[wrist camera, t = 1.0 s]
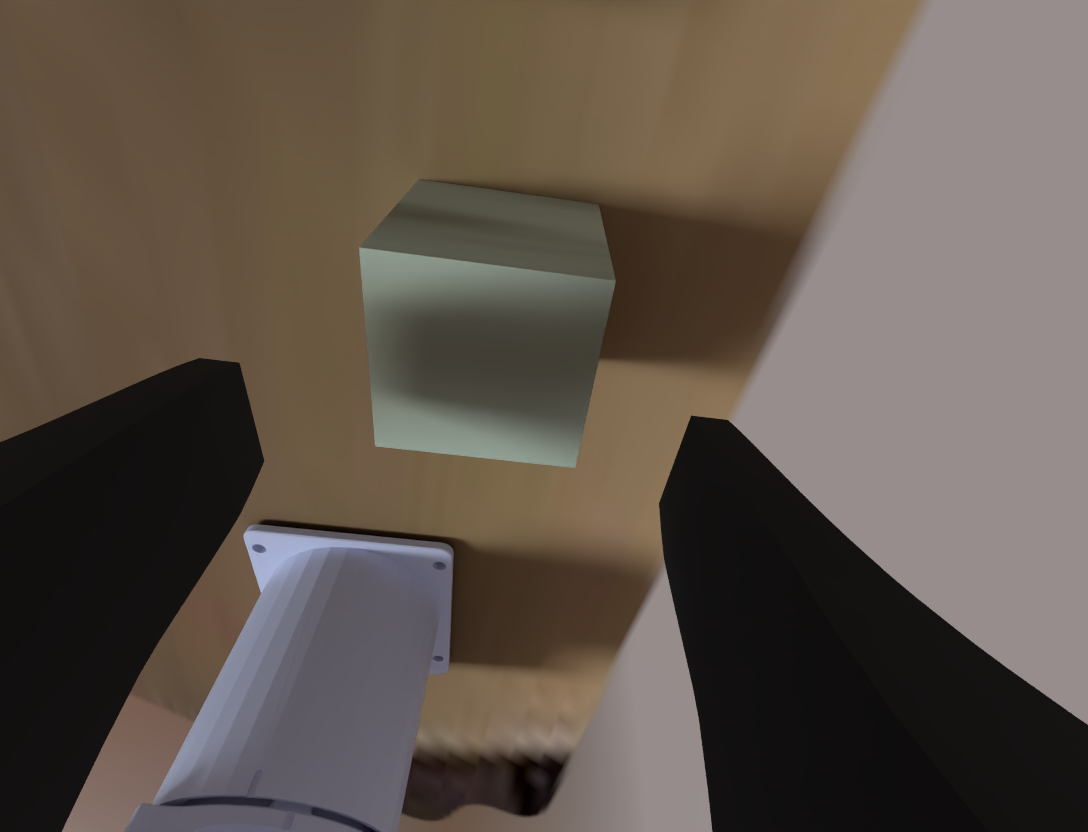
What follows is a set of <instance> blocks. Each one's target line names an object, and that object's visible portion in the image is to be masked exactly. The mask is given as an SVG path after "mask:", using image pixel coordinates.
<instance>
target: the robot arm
mask: <svg viewBox="0 0 1088 832" xmlns="http://www.w3.org/2000/svg"><path fill="white" fill-rule="evenodd" d="M263 463H264V458H263V454H262V450H261V446H260V442H259V438H258V434H257V430H256V426H255V423H254V419H253V415H252V411H251V407H250V403H249V399H248V395H247V391H246V387H245V383H244V379H243V375H242V371H241V367H240V363H236V362H228V361H219V360H211V359H202V358H198V359H196V360H193V361H190V362H187V363H184V364H181V365H179V366H176V367H174V368H171V369H169V370H166V371H164V372H161V373H159V374H157V375H154V376H152V377H150V378H147V379H145V380H143V381H140V382H138V383H136V384H134V385H131V386H129V387H127V388H125V389H122V390H120V391H118V392H116V393H113V394H111V395H109V396H107V397H104V398H102V399H100V400H98V401H95V402H93V403H91V404H89V405H86V406H84V407H82V408H80V409H77V410H75V411H73V412H71V413H68V414H66V415H64V416H61V417H59V418H57V419H55V420H52V421H50V422H48V423H46V424H43V425H41V426H39V427H36V428H34V429H32V430H29V431H27V432H24V433H22V434H19V435H17V436H15V437H12V438H10V439H7V440H5V441H2V442H0V832H62V830H63V828H64V825H65V823H66V821H67V819H68V817H69V815H70V813H71V811H72V808H73V806H74V804H75V802H76V800H77V798H78V796H79V794H80V792H81V790H82V788H83V786H84V784H85V781H86V779H87V777H88V775H89V773H90V771H91V769H92V767H93V765H94V762H95V761H96V759H97V757H98V755H99V752H100V750H101V748H102V746H103V744H104V742H105V740H106V738H107V736H108V734H109V732H110V730H111V729H112V727H113V725H114V723H115V720H116V719H117V717H118V715H119V713H120V711H121V709H122V707H123V705H124V703H125V701H126V699H127V697H128V696H129V694H130V692H131V690H132V688H133V686H134V684H135V682H136V680H137V678H138V676H139V674H140V672H141V671H142V669H143V667H144V666H145V664H146V662H147V661H148V659H149V657H150V656H151V654H152V652H153V650H154V649H155V647H156V645H157V644H158V642H159V640H160V639H161V637H162V636H163V634H164V633H165V631H166V630H167V628H168V627H169V625H170V623H171V622H172V620H173V619H174V617H175V616H176V614H177V613H178V611H179V610H180V608H181V606H182V605H183V603H184V602H185V600H186V599H187V597H188V596H189V594H190V593H191V591H192V589H193V588H194V586H195V585H196V583H197V582H198V580H199V579H200V577H201V576H202V574H203V572H204V571H205V569H206V568H207V566H208V565H209V563H210V562H211V560H212V559H213V557H214V555H215V554H216V552H217V551H218V549H219V547H220V546H221V544H222V543H223V541H224V540H225V538H226V536H227V535H228V533H229V532H230V530H231V529H232V527H233V525H234V524H235V522H236V520H237V519H238V517H239V515H240V514H241V511H242V509H243V507H244V505H245V503H246V501H247V499H248V497H249V495H250V493H251V491H252V488H253V486H254V484H255V481H256V479H257V477H258V474H259V472H260V470H261V467H262V465H263ZM659 508H660V521H661V534H662V544H663V553H664V560H665V565H666V570H667V575H668V579H669V583H670V588H671V593H672V597H673V602H674V606H675V611H676V615H677V619H678V624H679V628H680V633H681V637H682V641H683V646H684V650H685V655H686V659H687V663H688V668H689V672H690V677H691V681H692V685H693V690H694V696H695V701H696V706H697V711H698V717H699V723H700V731H701V739H702V746H703V753H704V762H705V769H706V778H707V785H708V794H709V802H710V813H711V821H712V831H713V832H1088V725H1087V724H1086V723H1084V722H1083V721H1081V720H1080V719H1078V718H1077V717H1075V716H1074V715H1073V714H1071V713H1070V712H1068V711H1067V710H1066V709H1064V708H1063V707H1061V706H1060V705H1058V704H1057V703H1056V702H1054V701H1053V700H1051V699H1050V698H1049V697H1047V696H1046V695H1044V694H1043V693H1041V692H1040V691H1039V690H1037V689H1036V688H1035V687H1033V686H1031V685H1030V684H1029V683H1027V682H1026V681H1024V680H1023V679H1022V678H1020V677H1019V676H1018V675H1016V674H1015V673H1013V672H1012V671H1011V670H1009V669H1008V668H1006V667H1005V666H1004V665H1002V664H1001V663H1000V662H998V661H997V660H995V659H994V658H993V657H992V656H990V655H989V654H987V653H986V652H985V651H984V650H982V649H981V648H979V647H978V646H977V645H975V644H974V643H973V642H971V641H970V640H969V639H968V638H966V637H965V636H964V635H963V634H961V633H960V632H959V631H957V630H956V629H955V628H954V627H952V626H951V625H950V624H949V623H947V622H946V621H945V620H944V619H942V618H941V617H940V616H939V615H937V614H936V613H935V612H933V611H932V610H931V609H930V608H929V607H927V606H926V605H925V604H924V603H922V602H921V601H920V600H918V599H917V598H916V597H915V596H914V595H912V594H911V593H910V592H909V591H908V590H906V589H905V588H904V587H903V586H902V585H901V584H899V583H898V582H897V581H896V580H895V579H893V578H892V577H891V576H890V575H889V574H888V573H886V572H885V571H884V570H883V569H882V568H881V567H880V566H879V565H878V564H876V563H875V562H874V561H873V560H872V559H871V558H870V557H868V556H867V555H866V554H865V553H864V552H863V551H862V550H861V549H860V548H858V547H857V546H856V545H855V544H854V543H853V542H852V541H851V540H850V539H849V538H847V537H846V536H845V535H844V534H843V533H842V532H841V531H840V530H839V529H838V528H837V527H836V526H835V525H834V524H833V523H832V522H830V521H829V520H828V519H827V518H826V517H825V516H824V515H823V514H822V513H821V512H820V511H819V510H818V509H817V508H816V507H815V506H814V505H813V504H812V503H811V502H810V501H809V500H808V499H807V498H806V497H805V496H804V495H803V494H802V493H800V491H799V490H798V489H797V488H796V487H795V486H794V485H793V484H792V483H791V482H790V481H789V480H788V479H787V478H786V477H785V476H784V475H783V474H782V473H781V472H780V471H779V470H778V469H777V468H776V467H775V466H774V465H773V464H772V463H771V462H770V461H769V460H768V459H767V458H766V457H765V456H764V455H763V454H762V453H761V452H760V451H759V450H758V449H757V448H756V447H755V446H754V445H753V444H752V443H751V442H750V441H749V440H748V439H747V438H746V437H745V436H744V435H743V434H742V433H741V432H740V431H739V430H738V429H737V428H736V427H735V426H734V425H733V424H732V423H730V422H729V421H728V420H723V419H714V418H706V417H697V416H691V418H690V421H689V423H688V426H687V429H686V431H685V434H684V437H683V440H682V442H681V445H680V448H679V451H678V453H677V456H676V459H675V461H674V464H673V467H672V470H671V472H670V475H669V478H668V481H667V483H666V486H665V489H664V491H663V494H662V497H661V500H660V502H659ZM244 540H245V543H246V547H247V550H248V553H249V556H250V559H251V562H252V565H253V569H254V572H255V575H256V578H257V581H258V584H259V588H260V591H261V595H260V597H259V599H258V601H257V603H256V605H255V607H254V609H253V610H252V612H251V614H250V616H249V618H248V620H247V622H246V624H245V626H244V628H243V630H242V632H241V634H240V635H239V637H238V639H237V641H236V643H235V645H234V647H233V649H232V651H231V653H230V655H229V657H228V659H227V661H226V662H225V664H224V666H223V668H222V670H221V672H220V674H219V676H218V678H217V680H216V682H215V684H214V686H213V688H212V689H211V691H210V693H209V695H208V697H207V699H206V701H205V703H204V705H203V707H202V709H201V711H200V713H199V714H198V716H197V718H196V720H195V722H194V724H193V726H192V728H191V730H190V732H189V734H188V736H187V738H186V740H185V741H184V743H183V746H182V747H181V749H180V751H179V753H178V755H177V757H176V759H175V761H174V763H173V765H172V766H171V769H170V770H169V772H168V774H167V776H166V778H165V780H164V782H163V784H162V786H161V788H160V790H159V792H158V793H157V795H156V797H155V799H154V801H153V803H152V804H146V803H141V804H140V805H139V806H138V807H137V809H136V810H135V812H134V814H133V816H132V818H131V820H130V822H129V824H128V826H127V827H126V829H125V831H124V832H397V831H398V826H399V821H400V816H401V811H402V806H403V801H404V796H405V791H406V786H407V781H408V776H409V771H410V766H411V761H412V756H413V751H414V746H415V740H416V735H417V730H418V725H419V720H420V715H421V710H422V705H423V700H424V695H425V690H426V685H427V680H428V675H429V673H430V674H444V673H446V672H447V671H448V669H449V660H450V635H451V609H452V583H453V558H454V551H453V549H452V547H451V546H449V545H448V544H446V543H441V542H431V541H421V540H411V539H401V538H391V537H381V536H371V535H360V534H350V533H340V532H330V531H320V530H310V529H300V528H290V527H280V526H270V525H260V524H257V525H251V526H249V527H248V529H247V530H246V532H245V534H244Z"/></svg>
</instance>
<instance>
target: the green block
mask: <svg viewBox="0 0 1088 832" xmlns="http://www.w3.org/2000/svg"><path fill="white" fill-rule="evenodd" d="M359 252H360V264H361V276H362V289H363V301H364V313H365V325H366V338H367V350H368V362H369V374H370V387H371V399H372V411H373V424H374V436H375V446H378V447H387V448H396V449H405V450H415V451H424V452H433V453H442V454H451V455H461V456H470V457H479V458H488V459H498V460H507V461H516V462H525V463H534V464H544V465H553V466H562V467H571V468H575V466H576V462H577V457H578V452H579V448H580V443H581V439H582V434H583V430H584V425H585V420H586V416H587V411H588V407H589V402H590V397H591V393H592V388H593V384H594V379H595V375H596V370H597V365H598V361H599V356H600V352H601V347H602V342H603V338H604V333H605V329H606V324H607V320H608V315H609V310H610V306H611V301H612V297H613V292H614V287H615V283H616V279H615V275H614V270H613V266H612V261H611V257H610V253H609V248H608V244H607V239H606V235H605V231H604V226H603V222H602V217H601V213H600V209H599V204H593V203H586V202H579V201H572V200H565V199H557V198H550V197H543V196H536V195H529V194H521V193H514V192H507V191H500V190H493V189H485V188H478V187H471V186H464V185H457V184H449V183H442V182H435V181H428V180H421V179H419V180H418V181H417V182H416V183H415V184H414V186H413V187H412V188H411V189H410V190H409V191H408V192H407V194H406V195H405V196H404V197H403V198H402V199H401V200H400V201H399V203H398V204H397V205H396V206H395V207H394V208H393V209H392V211H391V212H390V213H389V214H388V215H387V216H386V217H385V219H384V220H383V221H382V222H381V223H380V224H379V225H378V227H377V228H376V229H375V230H374V231H373V232H372V233H371V235H370V236H369V237H368V238H367V239H366V240H365V241H364V243H363V244H362V245H361V246H360V247H359Z"/></svg>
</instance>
